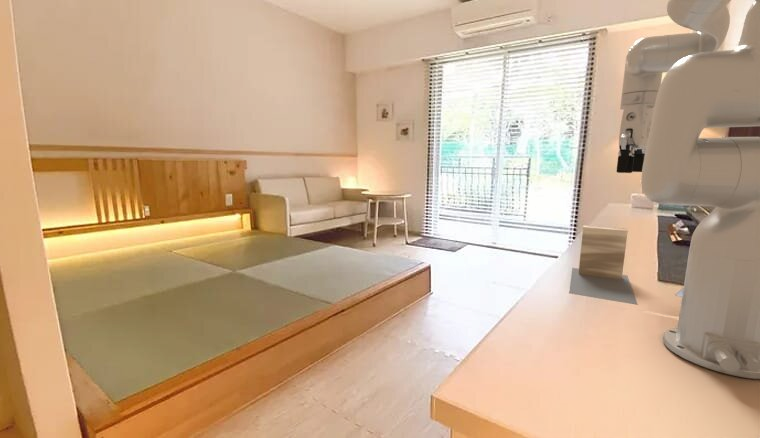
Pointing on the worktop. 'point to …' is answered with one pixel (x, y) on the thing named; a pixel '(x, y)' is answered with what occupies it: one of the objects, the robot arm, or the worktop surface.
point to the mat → (602, 287)
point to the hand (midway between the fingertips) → (630, 172)
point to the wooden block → (603, 251)
